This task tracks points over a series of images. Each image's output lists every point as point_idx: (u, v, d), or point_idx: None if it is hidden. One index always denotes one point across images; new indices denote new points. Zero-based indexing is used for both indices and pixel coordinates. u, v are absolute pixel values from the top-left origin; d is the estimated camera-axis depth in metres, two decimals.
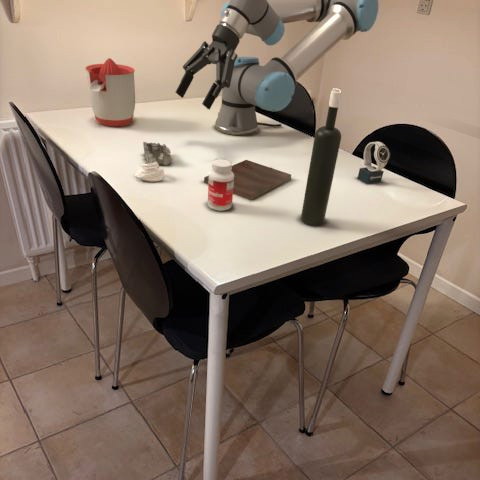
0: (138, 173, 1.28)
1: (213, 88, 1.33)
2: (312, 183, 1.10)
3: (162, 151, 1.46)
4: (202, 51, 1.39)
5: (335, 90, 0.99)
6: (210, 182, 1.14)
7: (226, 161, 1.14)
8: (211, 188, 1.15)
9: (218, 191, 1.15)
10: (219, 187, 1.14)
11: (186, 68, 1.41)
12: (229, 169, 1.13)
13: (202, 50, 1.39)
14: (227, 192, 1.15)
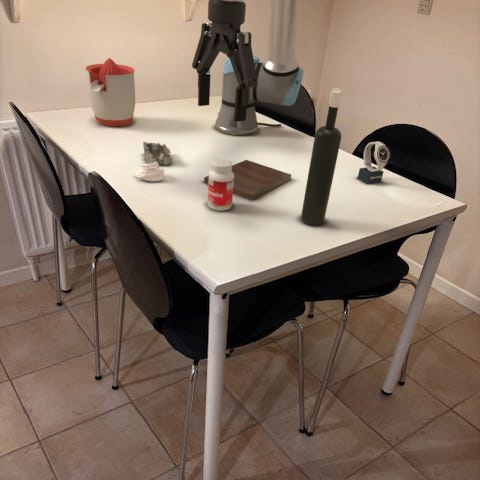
0: (138, 173, 1.28)
1: (239, 95, 0.99)
2: (312, 183, 1.10)
3: (162, 151, 1.46)
4: (206, 38, 1.02)
5: (335, 90, 0.99)
6: (210, 182, 1.14)
7: (226, 161, 1.14)
8: (211, 188, 1.15)
9: (218, 191, 1.15)
10: (219, 187, 1.14)
11: (197, 68, 1.07)
12: (229, 169, 1.13)
13: (205, 37, 1.02)
14: (227, 192, 1.15)
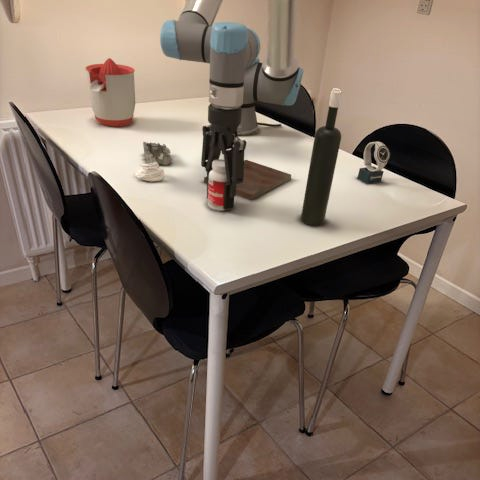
0: (138, 173, 1.28)
1: (227, 189, 1.14)
2: (312, 183, 1.10)
3: (162, 151, 1.46)
4: (208, 137, 1.13)
5: (335, 90, 0.99)
6: (210, 182, 1.14)
7: None
8: (211, 188, 1.15)
9: (218, 191, 1.15)
10: (219, 187, 1.14)
11: (205, 168, 1.17)
12: None
13: (207, 136, 1.13)
14: None
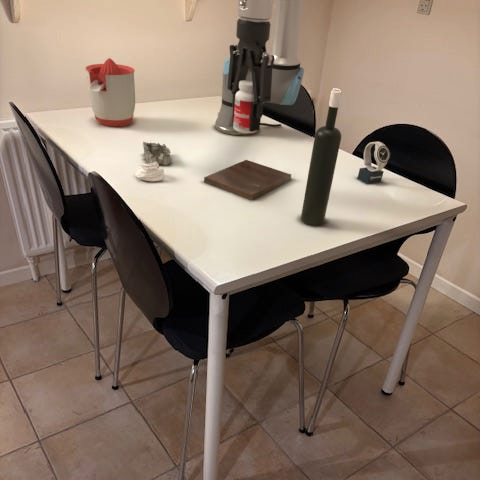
0: (138, 173, 1.28)
1: (254, 109, 1.14)
2: (312, 183, 1.10)
3: (162, 151, 1.46)
4: (235, 57, 1.14)
5: (335, 90, 0.99)
6: (237, 102, 1.15)
7: None
8: (238, 109, 1.16)
9: (244, 112, 1.15)
10: (246, 107, 1.15)
11: (232, 90, 1.18)
12: None
13: (234, 56, 1.14)
14: None
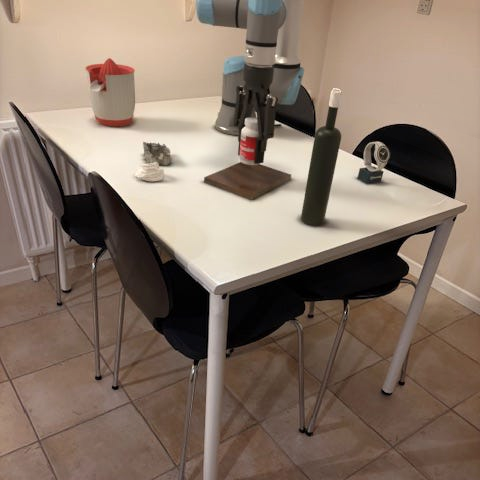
0: (138, 173, 1.28)
1: (258, 144, 1.24)
2: (312, 183, 1.10)
3: (162, 151, 1.46)
4: (241, 97, 1.24)
5: (335, 90, 0.99)
6: (243, 138, 1.25)
7: None
8: (243, 143, 1.26)
9: (249, 146, 1.25)
10: (251, 142, 1.25)
11: (238, 126, 1.28)
12: None
13: (240, 96, 1.24)
14: None
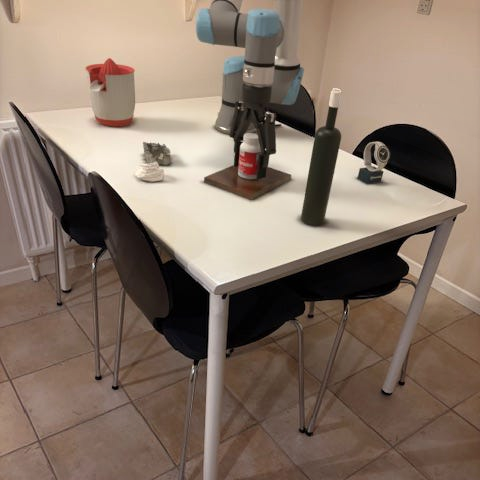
0: (138, 173, 1.28)
1: (261, 160, 1.26)
2: (312, 183, 1.10)
3: (162, 151, 1.46)
4: (239, 112, 1.27)
5: (335, 90, 0.99)
6: (241, 153, 1.28)
7: (256, 134, 1.27)
8: (242, 158, 1.28)
9: (248, 161, 1.28)
10: (250, 157, 1.27)
11: (233, 138, 1.31)
12: None
13: (238, 111, 1.26)
14: (256, 162, 1.28)
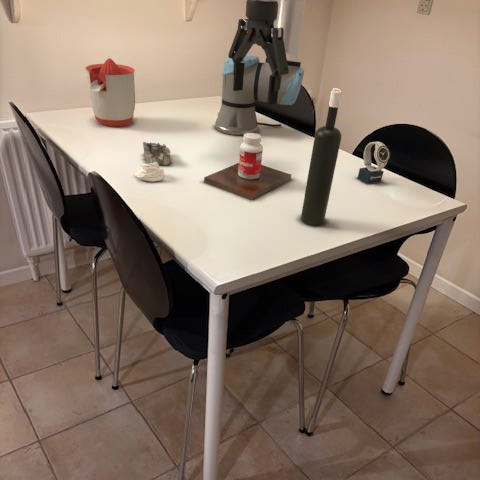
0: (138, 173, 1.28)
1: (272, 82, 1.16)
2: (312, 183, 1.10)
3: (162, 151, 1.46)
4: (242, 31, 1.19)
5: (335, 90, 0.99)
6: (241, 153, 1.28)
7: (256, 134, 1.27)
8: (242, 158, 1.28)
9: (248, 161, 1.28)
10: (250, 157, 1.27)
11: (233, 58, 1.23)
12: (259, 141, 1.26)
13: (241, 31, 1.18)
14: (256, 162, 1.28)
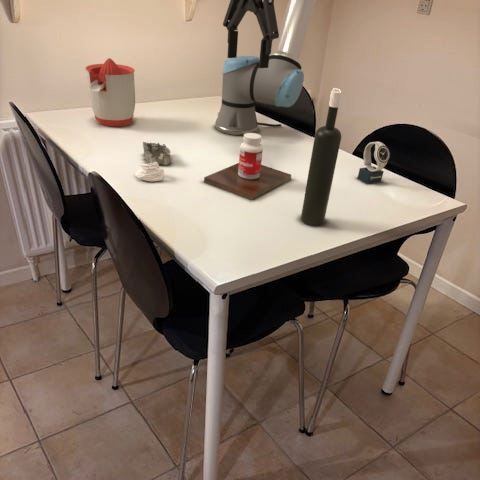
0: (138, 173, 1.28)
1: (263, 46, 1.24)
2: (312, 183, 1.10)
3: (162, 151, 1.46)
4: (235, 0, 1.26)
5: (335, 90, 0.99)
6: (241, 153, 1.28)
7: (256, 134, 1.27)
8: (242, 158, 1.28)
9: (248, 161, 1.28)
10: (250, 157, 1.27)
11: (227, 26, 1.31)
12: (259, 141, 1.26)
13: None
14: (256, 162, 1.28)
